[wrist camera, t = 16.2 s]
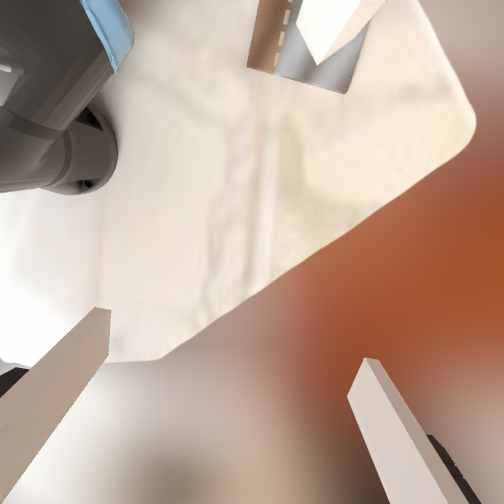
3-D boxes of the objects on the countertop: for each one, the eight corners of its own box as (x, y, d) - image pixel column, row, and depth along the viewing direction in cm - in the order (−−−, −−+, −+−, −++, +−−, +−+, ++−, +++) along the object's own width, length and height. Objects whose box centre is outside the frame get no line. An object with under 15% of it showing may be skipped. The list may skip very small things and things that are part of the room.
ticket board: (247, 66, 39) (246, 63, 38) (269, -47, 35) (270, -54, 34) (344, 94, 40) (347, 92, 39) (377, -13, 36) (381, -19, 35)
